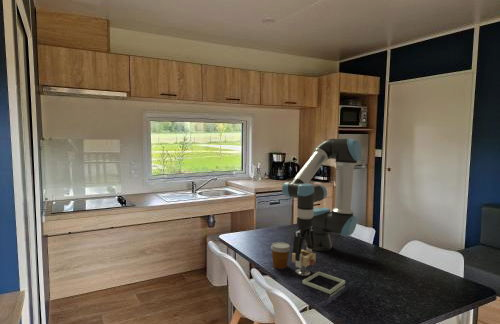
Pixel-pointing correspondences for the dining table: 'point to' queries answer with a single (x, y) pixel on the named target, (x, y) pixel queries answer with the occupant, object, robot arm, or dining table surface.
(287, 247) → the disposable coffee cup
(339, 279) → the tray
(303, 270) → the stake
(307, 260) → the wooden square frame
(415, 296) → the dining table surface
